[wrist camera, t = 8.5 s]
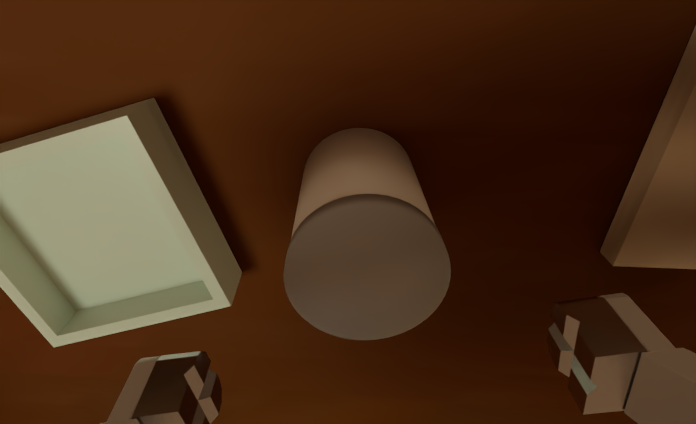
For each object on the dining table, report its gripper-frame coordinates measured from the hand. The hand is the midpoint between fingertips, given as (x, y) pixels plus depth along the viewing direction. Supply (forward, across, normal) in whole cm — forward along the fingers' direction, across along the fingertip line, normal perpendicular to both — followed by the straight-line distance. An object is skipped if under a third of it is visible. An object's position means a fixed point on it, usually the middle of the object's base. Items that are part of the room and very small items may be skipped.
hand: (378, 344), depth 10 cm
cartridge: (+10, 0, +1) cm, 10 cm away
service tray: (+10, +12, +1) cm, 16 cm away
